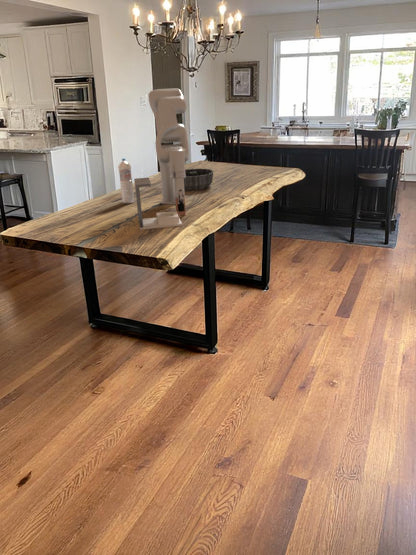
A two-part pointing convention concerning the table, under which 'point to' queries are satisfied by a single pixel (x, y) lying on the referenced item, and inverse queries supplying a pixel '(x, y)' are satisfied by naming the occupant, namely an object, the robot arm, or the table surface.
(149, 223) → the socket stand
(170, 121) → the robot arm
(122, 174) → the water bottle
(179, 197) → the peg
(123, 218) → the table surface
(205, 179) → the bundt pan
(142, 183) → the grey l-shaped bracket
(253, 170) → the table surface
